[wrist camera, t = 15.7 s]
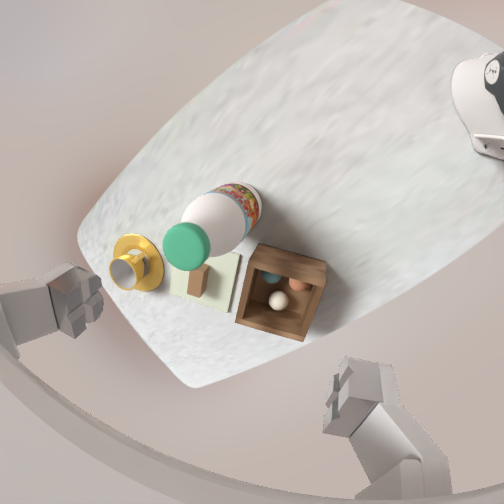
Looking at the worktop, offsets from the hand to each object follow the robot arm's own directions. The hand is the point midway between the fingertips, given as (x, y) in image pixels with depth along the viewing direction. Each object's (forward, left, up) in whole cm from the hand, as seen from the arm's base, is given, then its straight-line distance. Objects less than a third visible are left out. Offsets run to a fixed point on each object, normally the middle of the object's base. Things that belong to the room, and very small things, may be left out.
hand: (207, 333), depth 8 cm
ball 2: (-2, +19, -34) cm, 39 cm away
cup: (+25, +22, -37) cm, 50 cm away
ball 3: (-4, +14, -34) cm, 37 cm away
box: (-2, +16, -36) cm, 40 cm away
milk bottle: (+8, +6, -36) cm, 38 cm away
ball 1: (0, +14, -34) cm, 37 cm away
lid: (+12, +19, -37) cm, 43 cm away
